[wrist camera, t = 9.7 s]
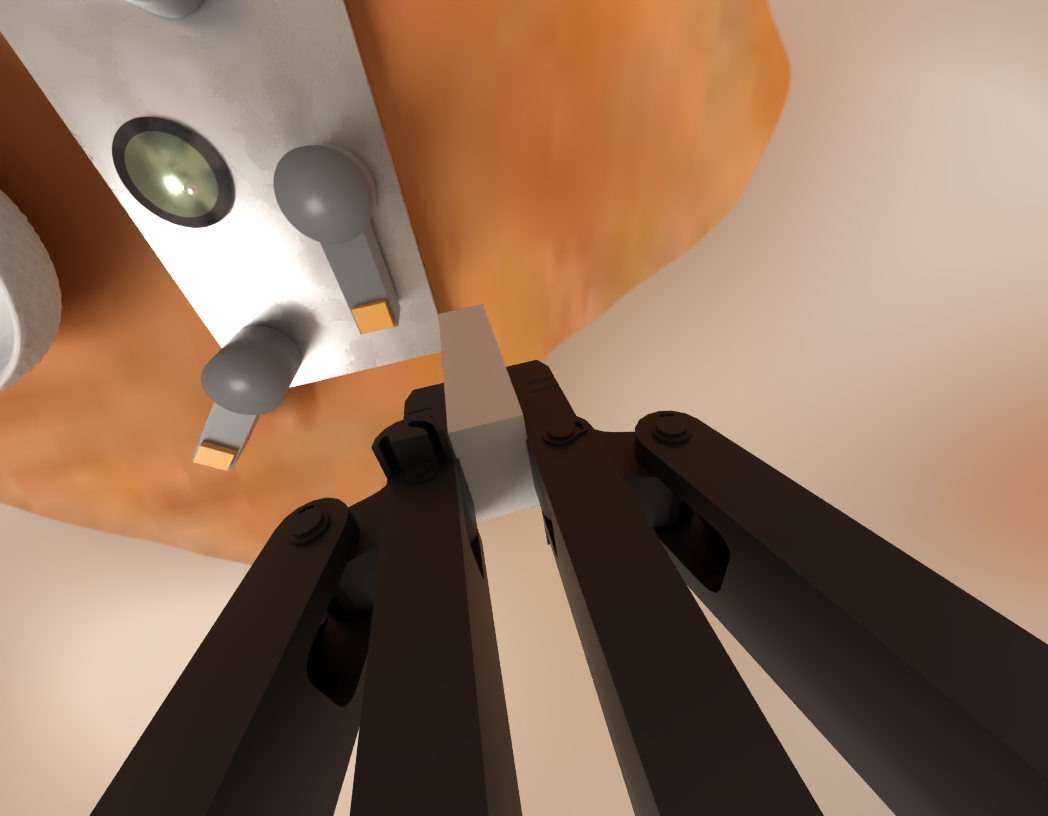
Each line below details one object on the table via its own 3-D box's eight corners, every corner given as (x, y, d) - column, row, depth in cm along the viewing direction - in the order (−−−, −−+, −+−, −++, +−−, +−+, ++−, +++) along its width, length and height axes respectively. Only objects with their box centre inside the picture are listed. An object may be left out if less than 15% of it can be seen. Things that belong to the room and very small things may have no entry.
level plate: (-170, -257, 14) (-256, -315, 12) (258, -291, 15) (237, -347, 13) (262, 384, 30) (252, 399, 29) (447, 341, 32) (448, 353, 30)
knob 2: (281, 152, 21) (254, 154, 18) (360, 137, 22) (348, 137, 18) (353, 315, 27) (343, 341, 24) (414, 301, 28) (413, 325, 24)
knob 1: (241, 314, 26) (212, 342, 22) (310, 345, 28) (294, 374, 24) (200, 419, 29) (170, 458, 26) (265, 439, 31) (245, 477, 28)
